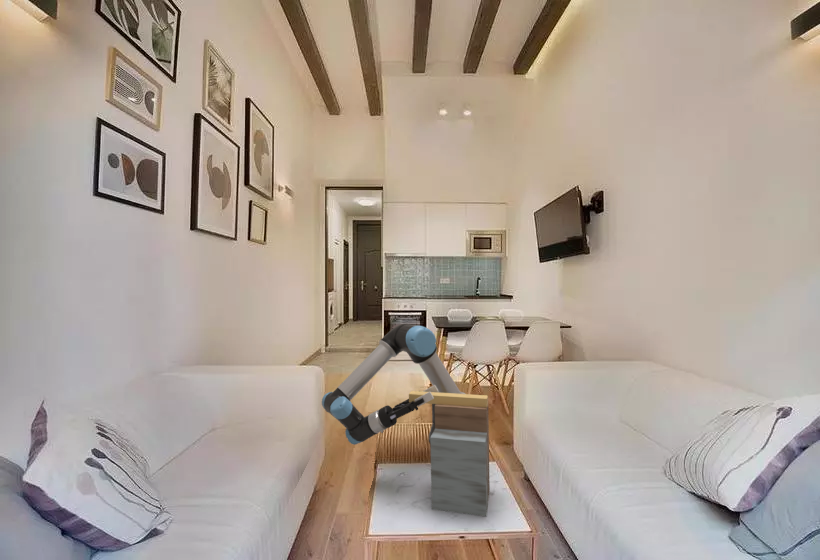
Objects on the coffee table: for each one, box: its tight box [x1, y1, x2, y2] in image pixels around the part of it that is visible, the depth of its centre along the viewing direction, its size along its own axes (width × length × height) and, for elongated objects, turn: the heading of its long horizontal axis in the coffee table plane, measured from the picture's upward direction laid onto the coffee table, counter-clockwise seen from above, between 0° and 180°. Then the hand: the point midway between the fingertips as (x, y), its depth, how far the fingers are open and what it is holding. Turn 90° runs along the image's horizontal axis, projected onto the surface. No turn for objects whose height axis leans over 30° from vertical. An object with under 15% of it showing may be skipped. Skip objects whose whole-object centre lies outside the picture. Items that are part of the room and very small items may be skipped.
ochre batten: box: [408, 390, 489, 407], centre depth 144 cm, size 4×28×3 cm, turn 75°
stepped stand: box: [429, 404, 491, 517], centre depth 139 cm, size 16×18×32 cm
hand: (434, 391), depth 145 cm, fingers open, 8 cm apart
